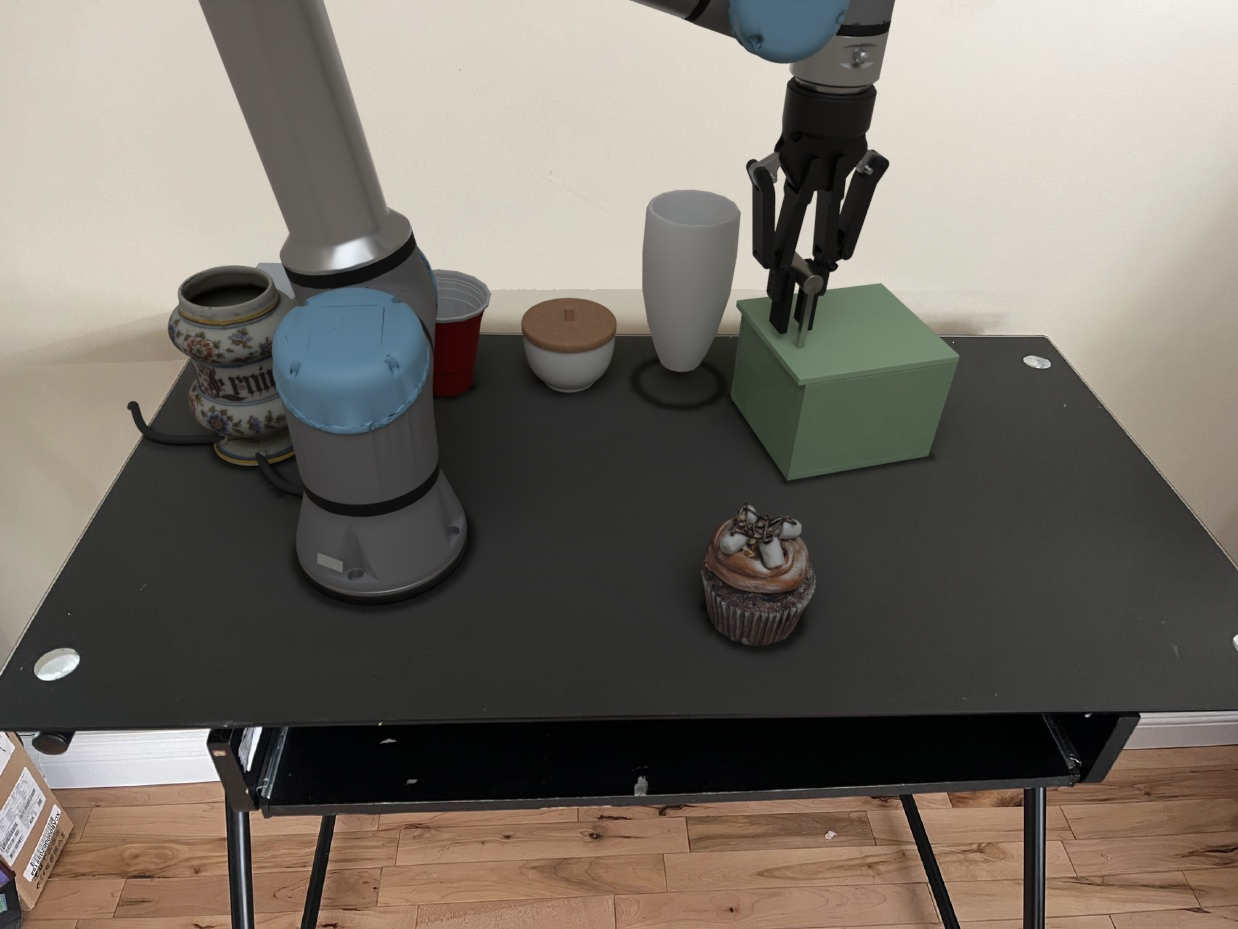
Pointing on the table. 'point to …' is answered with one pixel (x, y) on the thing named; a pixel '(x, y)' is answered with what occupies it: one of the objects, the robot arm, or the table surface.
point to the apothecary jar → (234, 359)
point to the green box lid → (846, 332)
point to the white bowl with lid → (569, 342)
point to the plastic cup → (457, 330)
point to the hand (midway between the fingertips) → (790, 325)
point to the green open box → (836, 412)
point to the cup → (687, 272)
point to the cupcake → (757, 577)
